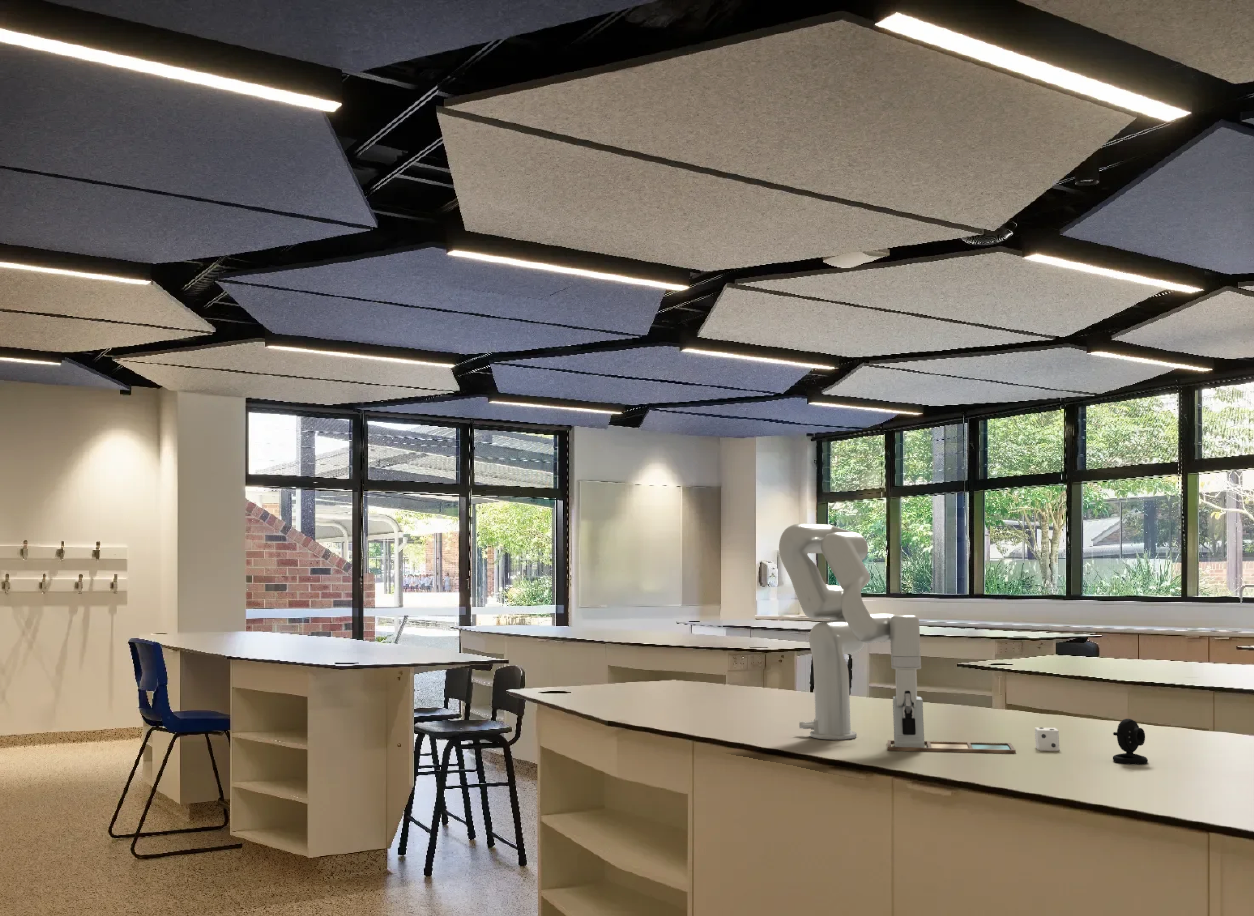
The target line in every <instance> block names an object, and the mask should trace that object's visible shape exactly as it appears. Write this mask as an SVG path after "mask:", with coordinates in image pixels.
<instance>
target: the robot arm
mask: <svg viewBox="0 0 1254 916" xmlns="http://www.w3.org/2000/svg"><path fill="white" fill-rule="evenodd" d="M868 552H869V546H868V542H867V540H866V539H865V537H864V536H863V535H861V534H860V533H859V532H855V531H852V530H848V529H844V528H841V527H838V526H836V525H835V526H834V525H831V524H826V523H823V524H822V523H796V524H792V525H790V526H788V527H787V528H785V529H784V531H782V534H781V536H780V538H779V543H778V553H779V557H780V560H781V562H782V565H783V566H784V568H785V571H786V573H787V574H788V576H789V578H790V581H791V585H792V587H793V589H794V592H795V594H796V597H797V600H798V602H799V604H800V607H801V609H802V612H803V615H805V617H807V618H809V619H812V620H824V621H820V622H818V623H815V625H814V626H812V628H811V630H810V632H809V635H808V642H809V643H808V644H809V647H810V652H811V657H812V664H813V665H812V667H813V684H814V685H813V686H814V714H815V715H814V720H810V721H799V723H798V725H799V729H802V730H808V729H810V730H811V731H810V732H809V736H810V737H811V738H813V739H819V740H833V741H835V740H836V741H838V740H839V741H841V740H842V741H843V740H850V739H851V740H852V739H856V738H857V736H858V735H857V732H856V731H853V730H852V727H851V705H850V703H851V700H850V699H851V697H850V675H849V673H850V672H849V668H848V664H847V661H846V660H845V659H846V658H845V657H844V655H850V654H851V655H852V654H856V653H859V652H861V650H862V649H863V648H864V647H865V645H866V644H874V643H886V642H889V643H890V661H891V662H890V663H891V664H890V665H891V669H893V670H895V697H896V699H897V707H898V708H899V706H902V704H903V707H902V708H903V718H902V729H903V734H904V735H915V734H916V729H915V719H914V708H915V707H916V700H917V697H918V678H917V674H918V673H917V670H921V669H922V659H921V658H922V657H921V655H922V653H921V652H922V651H921V636H920V635H921V633H920V632H921V631H920V620H919V618H918V616H917V615H914V614H892V613H888V612H887V613H869V611H868V609H867V607H866V606H865V602H864V601H863V598H862V590H863V588H864V587H866V586H867V584H868V583H870V580H871V575H870V572H869V571H868V569H867V567H866V566H865V565H864V562H863V560H865V558H866V557H867V555H868ZM808 554H822V555H823V557H824V559H825V561H826V562H827V564H828V566H829V568H830V569H831V572H832V573H833V575H834V576H835V578H836V581H837V582H838V584H839V585H835V584H826V583H825V581H824V580H823V577H822V575H821V571H820V570H819V567H818V565H817V564H816V563H815V562H814V561H813V559H811V558H810V557H809V555H808ZM910 699H911V700H912V706H911V703H910ZM904 700H905V701H906V706H904V703H903V702H904ZM913 703H914V706H913Z"/></svg>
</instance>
